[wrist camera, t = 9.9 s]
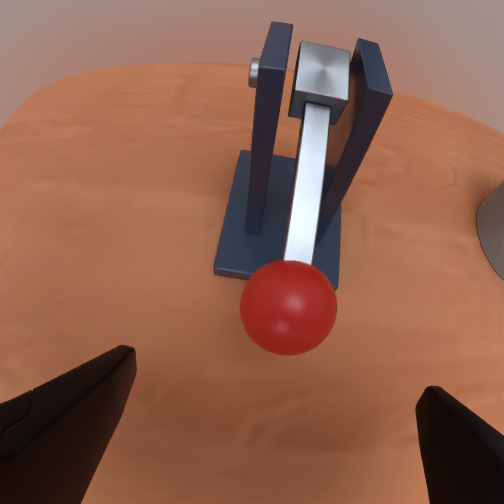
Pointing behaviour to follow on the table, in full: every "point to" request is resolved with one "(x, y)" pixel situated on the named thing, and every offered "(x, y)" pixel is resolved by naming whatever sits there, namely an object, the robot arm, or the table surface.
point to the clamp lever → (301, 217)
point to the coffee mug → (493, 228)
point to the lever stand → (282, 168)
